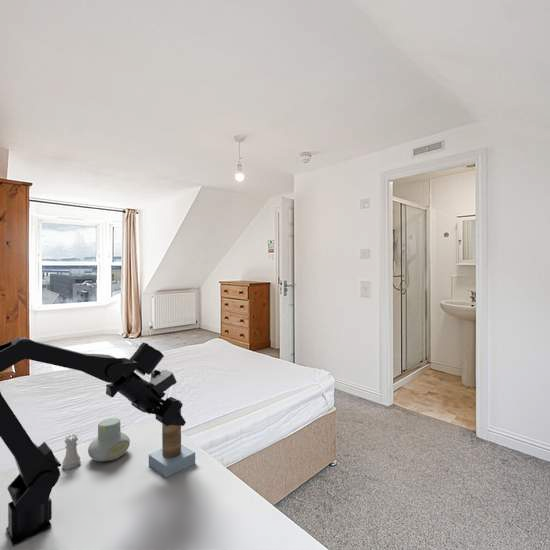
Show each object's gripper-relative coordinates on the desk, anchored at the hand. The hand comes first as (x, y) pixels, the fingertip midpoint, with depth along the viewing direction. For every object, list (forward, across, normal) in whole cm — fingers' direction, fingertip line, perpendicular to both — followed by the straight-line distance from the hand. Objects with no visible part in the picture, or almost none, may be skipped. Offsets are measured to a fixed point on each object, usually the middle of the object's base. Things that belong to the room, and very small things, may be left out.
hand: (175, 419), depth 93 cm
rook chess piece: (-6, +20, +23) cm, 31 cm away
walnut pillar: (+6, 0, +7) cm, 9 cm away
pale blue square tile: (+8, 0, +9) cm, 12 cm away
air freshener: (+1, +18, +17) cm, 24 cm away
